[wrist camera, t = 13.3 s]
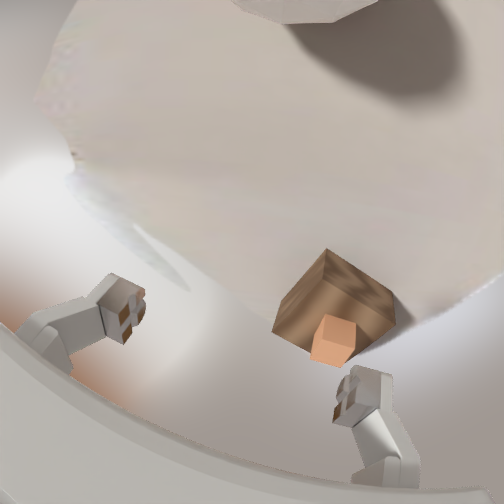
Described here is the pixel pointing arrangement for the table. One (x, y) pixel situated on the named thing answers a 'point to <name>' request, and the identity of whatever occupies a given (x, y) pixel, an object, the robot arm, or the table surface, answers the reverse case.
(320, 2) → the polyhedron
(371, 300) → the walnut box
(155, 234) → the table surface
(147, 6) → the table surface
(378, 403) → the robot arm
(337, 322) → the cube
